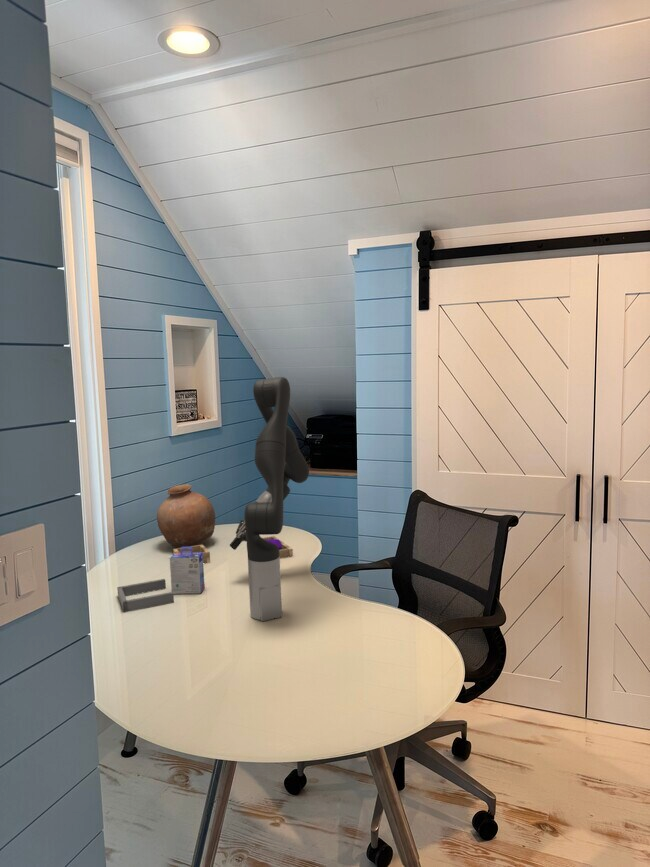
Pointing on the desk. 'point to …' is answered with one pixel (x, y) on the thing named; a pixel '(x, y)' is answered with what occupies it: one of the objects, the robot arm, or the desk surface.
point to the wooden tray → (196, 550)
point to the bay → (144, 601)
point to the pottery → (186, 517)
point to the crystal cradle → (285, 550)
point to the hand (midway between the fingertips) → (232, 547)
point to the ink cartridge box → (187, 572)
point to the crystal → (276, 542)
